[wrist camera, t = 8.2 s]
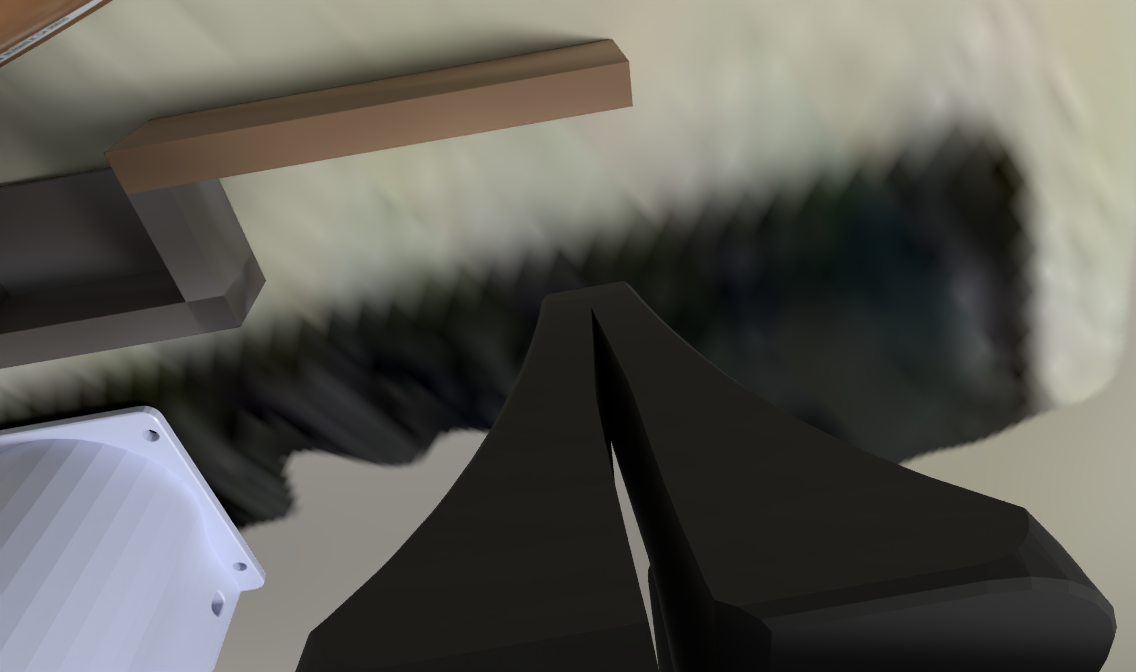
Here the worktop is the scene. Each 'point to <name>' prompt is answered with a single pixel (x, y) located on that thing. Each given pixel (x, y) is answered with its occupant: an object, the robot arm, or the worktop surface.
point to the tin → (37, 22)
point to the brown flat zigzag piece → (203, 212)
